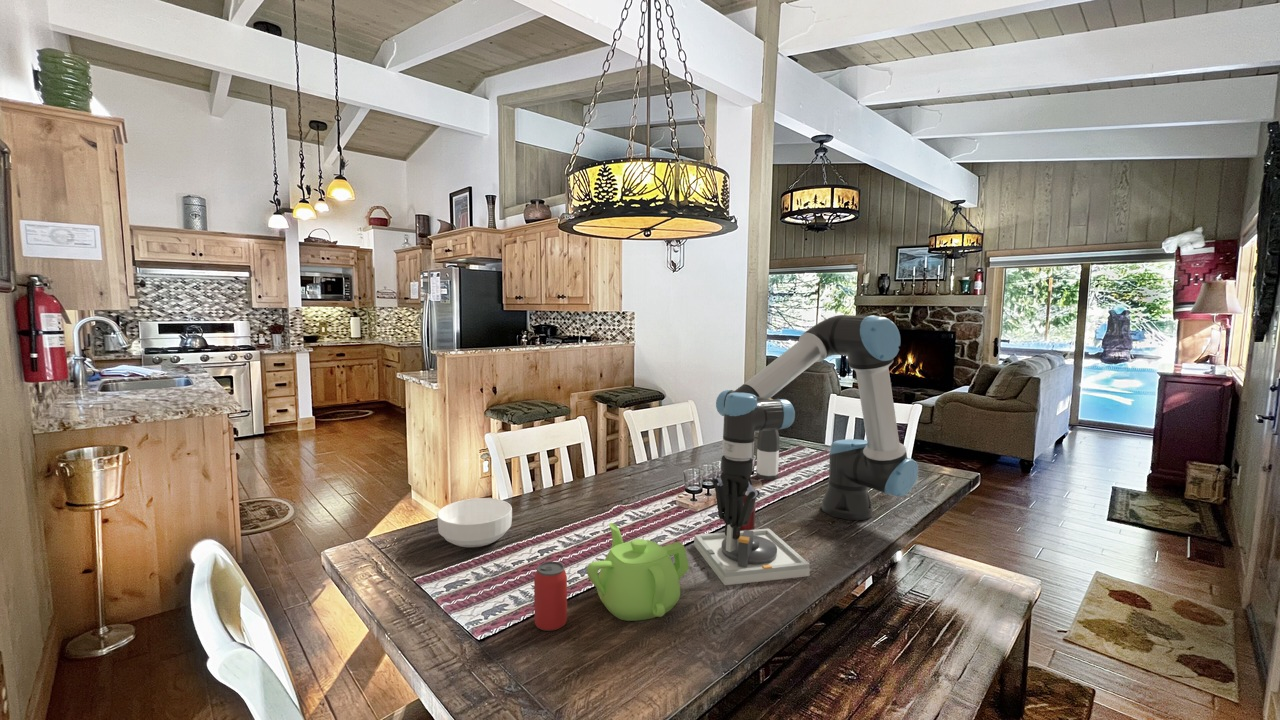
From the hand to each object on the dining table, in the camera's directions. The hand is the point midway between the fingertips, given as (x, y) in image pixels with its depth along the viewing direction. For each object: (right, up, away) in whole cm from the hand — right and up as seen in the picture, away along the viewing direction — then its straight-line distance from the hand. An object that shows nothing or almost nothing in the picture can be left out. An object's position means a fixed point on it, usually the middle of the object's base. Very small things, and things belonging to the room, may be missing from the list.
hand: (731, 549), depth 139 cm
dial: (+6, -2, +6) cm, 8 cm away
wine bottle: (+26, +2, +75) cm, 80 cm away
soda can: (+7, -3, +25) cm, 26 cm away
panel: (+5, -5, +6) cm, 9 cm away
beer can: (-41, -7, -23) cm, 48 cm away
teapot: (-24, -7, -14) cm, 28 cm away
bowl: (-68, -3, +16) cm, 70 cm away
